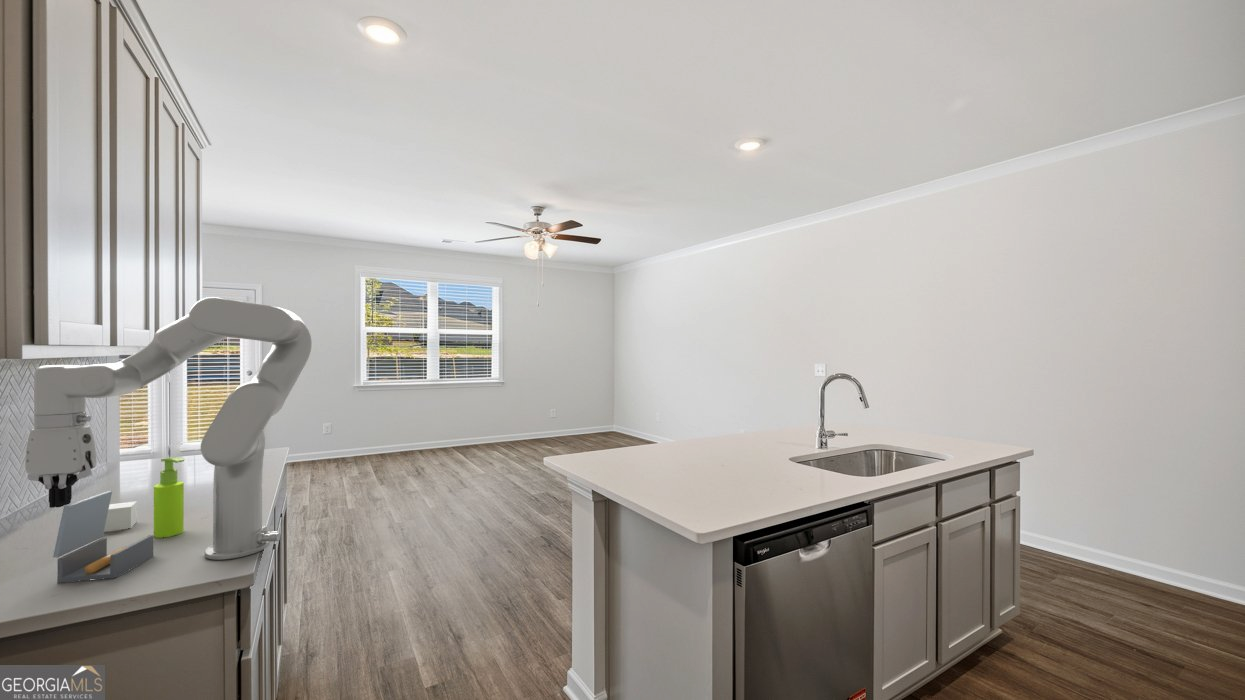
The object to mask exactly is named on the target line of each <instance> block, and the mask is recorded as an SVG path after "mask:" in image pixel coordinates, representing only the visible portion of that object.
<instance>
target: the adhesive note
mask: <svg viewBox="0 0 1245 700" xmlns="http://www.w3.org/2000/svg"><path fill="white" fill-rule="evenodd" d="M136 522H137V523H138V501H137V500H136V501H128V502H119V503H118V502H117V503H110V504H109V509H108V514H107V519H106V523H105V528H104V533H106V532H115V531H122V529H123V530H128V528H131V529H132V528H133V527H134V526H135V525H136V524H137V523H136ZM135 523H136V524H135ZM134 524H135V525H134ZM133 525H134V526H133Z"/></svg>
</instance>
